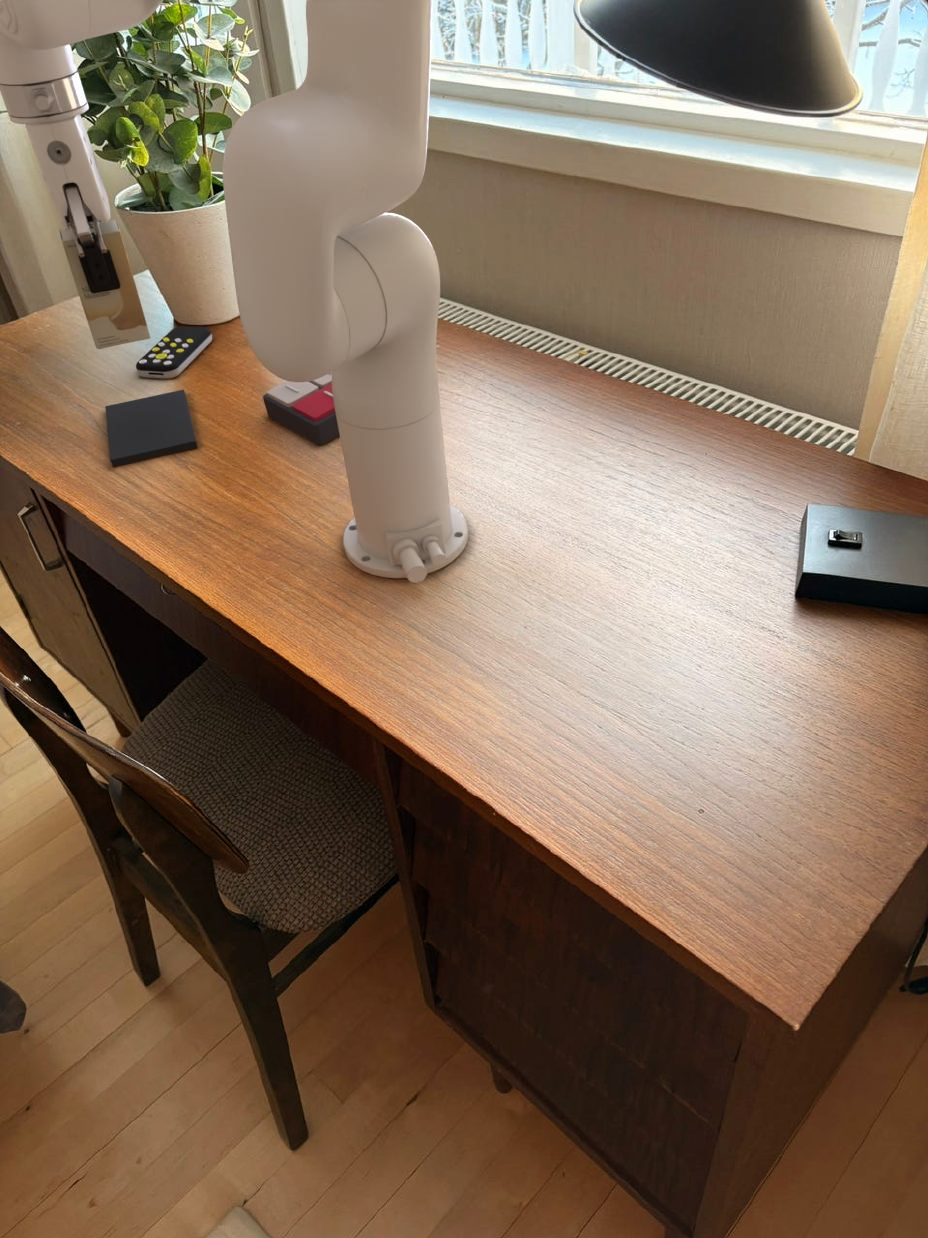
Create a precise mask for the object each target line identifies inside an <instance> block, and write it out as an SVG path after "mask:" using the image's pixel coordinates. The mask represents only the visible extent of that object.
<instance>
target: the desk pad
mask: <svg viewBox="0 0 928 1238" xmlns="http://www.w3.org/2000/svg"><path fill="white" fill-rule="evenodd" d="M104 407H105V419H106V429H107V441H108V452H109V462H110V464H111V466H112V467H113V468H115V467H119V466H123V465H127V464H133V463H138V462H141V461H147V460H150V459H154V458H159V457H163V456H168V455H172V454H177V453H180V452H185V451H189V450H190V451H191V450H194V449H198V448H199V446H198V443H197V438H196V433H195V429H194V425H193V421H192V417H191V412H190V407H189V403H188V399H187V395H186V392H185V389H179V390H174V391H170V392H165V393H161V394H156V395H151V396H147V397H141V398H137V399H133V400H128V401H123V402H119V403H114V404H109V405H105V406H104Z"/></svg>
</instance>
